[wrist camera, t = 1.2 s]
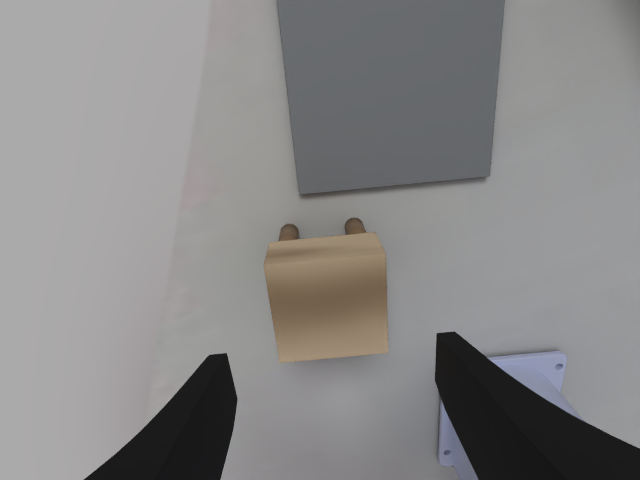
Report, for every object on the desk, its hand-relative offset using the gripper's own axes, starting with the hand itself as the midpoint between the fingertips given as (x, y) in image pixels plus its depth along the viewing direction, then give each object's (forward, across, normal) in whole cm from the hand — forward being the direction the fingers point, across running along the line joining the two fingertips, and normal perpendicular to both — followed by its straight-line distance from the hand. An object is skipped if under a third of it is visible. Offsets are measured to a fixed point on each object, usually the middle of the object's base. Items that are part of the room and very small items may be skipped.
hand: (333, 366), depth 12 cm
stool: (+9, 0, 0) cm, 9 cm away
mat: (+9, -4, -9) cm, 13 cm away
